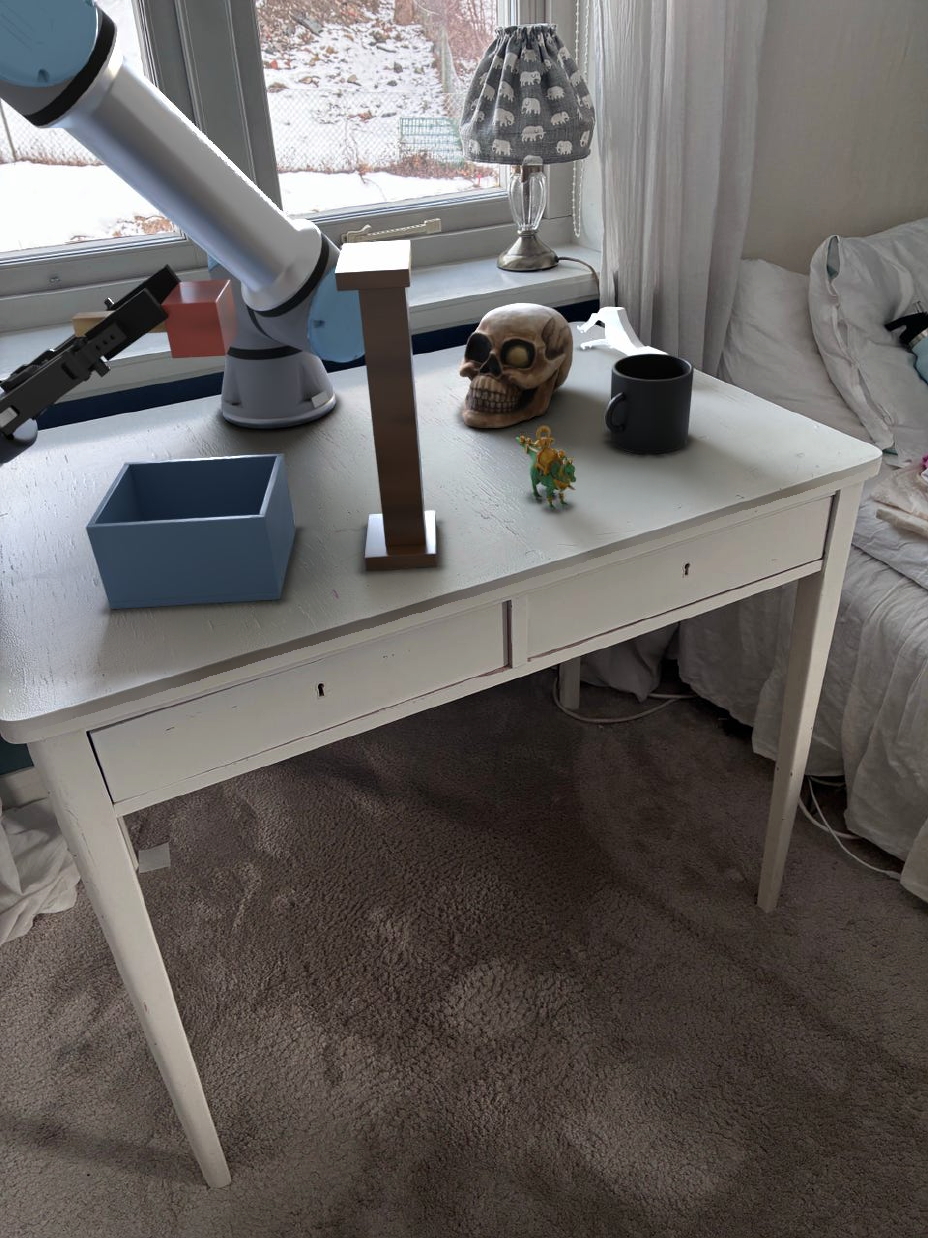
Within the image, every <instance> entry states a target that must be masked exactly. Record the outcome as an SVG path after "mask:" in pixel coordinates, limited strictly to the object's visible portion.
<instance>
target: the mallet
mask: <svg viewBox="0 0 928 1238" xmlns="http://www.w3.org/2000/svg"><path fill="white" fill-rule="evenodd" d="M161 307H162V308H163V309H164V311H165V312H166V313H167V314H168V315H169V317H168V318H167V319H166V320H164V321H163V322H162V323H160V324H159V325H158V326H156V327H155V328H153V329H152V330H151V331H149V332H148V333H147V334H161V333H164V334H165V333H166V334H167V340H168V345H169V348H170V353H171V357H172V359H189V358H190V359H191V358H192V359H193V358H207V357H208V358H209V357H210V358H211V357H226V354H227V352H228V350H229V348H230V346H231V344H232V342H233V340H234V338H235V337H236V335H237V333H238V331H239V328H238V322H237V316H236V311H235V305H234V299H233V294H232V288H231V282H230V280H211V279H210V280H196V281H181V282H179V283H178V284H177V286H176V287H175V288H174V289H173V291H172V292H171V293H170V294H169V296H168V297H167V298H166V299H165V301H164V302H163V303H162V304H161ZM113 312H114V311H105V310H103V311H88V312H87V311H86V312H77V313H75V314H74V315H73V317H71V319H70V320H71V324H72V328H73V332H74V333H75V335H76V337H86V336H85V335H84V334H85V333H86V332H87V331H88V330H90V329H91V328H92V327H94V326H95V325H96V324H98V323H99V322H100V321H102V320H103V319H104V318H106V317H107V316H109V315H110V314H111V313H113Z"/></svg>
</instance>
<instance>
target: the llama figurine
mask: <svg viewBox="0 0 928 1238" xmlns="http://www.w3.org/2000/svg"><path fill="white" fill-rule="evenodd" d="M598 321H601V322H602V323H604V334H605V338H603V339H596V340H591V341H588V342H583V343H581V344H580V345H579V346H580V347H581V349H582V350H585V349H586V347H589V348H590V349H592V347H593V346H606V347H608V348H609V349H611V350H613V349H616V350H618V351H619V352H621V353H623V354H625V355H627V356H631V355H637V354H667V355H669V354H668V353H667V352H665V351H662V350H659V349H657V348H655V347H651V346H649V345H647V346H645V345H644V344H643V342H641V341H640V340H639V337H638V336H637V334H636V332H635V330H634V328H633V327H632V325H631V323H630V321H629V318H628V314H627V310H626V308H625V307H615V306H605V307H603V308H600V309H599V310H598V311H597V313H591V315H590V318H589V319H588V320H587V321H586V322H585V323H583V324H582V325H581V326H580V325H579V324H578V325H577V327H576V329H577V330H578V332H579V333H580V334H584V333H588V329H590V328H591V327H592V326H594V325H595V324H596V323H597V322H598Z"/></svg>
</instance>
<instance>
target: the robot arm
mask: <svg viewBox="0 0 928 1238" xmlns="http://www.w3.org/2000/svg"><path fill="white" fill-rule="evenodd" d="M0 99H1V100H2V101H4V103H6V104H7V105H8V106H9V107H10V108H11V109H13V110H14V111H15V112H17V113H18V114H19V115H20V116H22V117H23V118H24V119H25V120H27V122H29V123H30V124H31V125H32V126H33V127H34V128H37V129H40V130H42V129H63V130H64V131H65V132H67V134H69V135H70V136H71V137H72V138H74V140H75V141H77V142H78V143H79V144H80V145H82V146H83V147H84V148H85V149H86V150H87V151H88V152H90V154H92V155H93V156H95V157H96V158H97V159H98V160H99V161H100V162H102V164H104V165H105V166H106V167H107V168H108V169H109V170H110V171H112V172H113V173H114V174H115V175H116V176H118V178H120V179H121V180H122V181H123V182H124V183H125V184H127V185H128V186H129V187H130V188H131V189H132V190H134V191H135V192H136V193H137V194H138V195H140V196H141V197H142V198H143V199H144V200H146V202H148V203H149V204H150V205H151V206H153V207H154V208H155V209H156V210H157V211H158V212H159V213H161V214H162V215H163V216H164V217H165V218H166V219H168V221H170V222H171V223H172V224H173V225H174V226H176V227H177V228H178V229H179V230H180V231H181V232H183V233H184V234H185V235H186V236H187V237H189V238H190V239H191V241H193V242H194V243H196V244H197V245H198V246H199V247H200V248H201V249H202V250H204V251H205V252H206V257H207V272H208V274H209V276H210V277H209V278H210V281H211V280H230V282H231V288H232V294H233V299H234V305H235V311H236V316H237V322H238V328H239V331H238V333H237V335H236V337H235V338H234V340H233V342H232V344H231V346H230V348H229V350H228V352H227V354H226V355H225V365H224V373H223V378H222V379H223V380H222V385H221V395H220V403H221V404H220V406H221V410H222V417H224V419H225V420H226V421H227V422H229V423H231V424H233V425H235V426H239V427H242V428H248V429H259V430H260V429H261V430H262V429H264V430H265V429H267V430H268V429H269V430H270V429H280V428H288V427H293V426H298V425H303V424H306V423H309V422H312V421H315V420H317V419H319V418H321V417H323V416H325V415H326V414H328V413H329V412H330V411H331V410H333V409H334V407H335V405H336V395H335V389H334V385H333V383H332V380H331V378H330V376H329V374H328V372H327V370H326V368H325V366H324V364H323V362H322V360H323V361H327V362H329V361H330V362H331V361H332V362H336V363H349V362H351V361H354V360H357V359H360V358H361V357H363V356H365V351H364V342H363V332H362V323H361V314H360V304H359V295H358V290H354V291H337V287H336V278H335V272H336V268H337V265H338V262H339V258H340V255H341V251H342V250H341V249H339V248H338V246H337V245H336V244H334V242H332V241H331V239H330V238H329V237H327V235H326V234H324V232H322V230H321V229H319V228H318V226H317V225H315V224H314V223H313V222H312V221H310V220H307V219H295V220H291V219H290V218H289V217H287V215H286V214H285V213H284V212H283V211H282V210H280V209H279V207H277V205H276V204H275V203H274V202H272V200H271V199H270V198H268V196H266V194H265V193H264V192H263V191H261V189H259V188H258V186H257V185H255V184H254V182H253V181H251V180H250V178H249V177H247V176H246V175H245V174H244V173H243V172H242V171H241V170H240V169H239V168H238V167H237V166H236V165H235V164H234V163H233V162H232V161H231V160H230V159H229V158H228V157H227V156H226V155H225V154H224V153H223V152H222V151H221V149H219V148H218V147H217V146H216V145H215V144H214V143H213V142H212V141H211V140H210V139H208V137H207V136H206V135H205V134H204V133H203V132H202V131H201V130H199V128H198V127H197V126H195V124H194V123H192V121H191V120H189V118H188V117H186V115H185V114H183V113H182V111H180V109H178V107H177V106H176V105H174V103H173V102H172V101H170V100H169V98H167V97H166V95H164V93H162V92H161V91H160V90H159V89H158V88H157V87H156V86H155V84H153V83H152V82H151V81H150V80H149V79H148V78H147V77H146V76H145V75H144V74H143V73H142V72H141V71H140V70H139V69H138V68H137V67H136V66H135V65H134V64H133V63H132V62H131V61H130V60H129V59H128V58H127V57H126V56H125V55H124V54H123V53H122V52H121V49H120V40H119V31H118V26H117V24H116V22H115V21H114V20H113V19H112V18H111V17H110V16H109V15H108V14H107V12H105V11H104V10H103V9H102V8H101V7H100V6H99V5H98V4H97V3H96V2H95V0H0ZM179 282H182V280H181V279H180V278H179V276H178V275H177V274H176V273H175V271H174V270H173V269H172V268H171V267H170V265H169V264H168V263H166V264H165V265H164V266H162V267H161V268H160V269H158V270H157V271H156V272H154V273H153V274H151V275H150V276H149V277H147V278H146V279H145V280H143V281H142V282H141V283H140V284H138V285H137V286H135V287H134V288H133V289H131V290H130V291H129V292H127V293H126V294H125V295H124V296H122V297H120V298H119V299H118V300H116V301H115V302H113V301H112V299H111V298H110V297H107V298H106V299H104V300H103V303H104V305H105V306H106V308H105V310H104V311H114V312H113V313H111V314H110V315H109V316H107V317H106V318H104V319H103V320H102V321H100V322H99V323H98V324H96V325H95V326H94V327H92V328H91V329H90V330H88V331H87V332H86V333H85V334H84V335H85V336H86V337H76V335H75V332H74V333H73V334H72V335H70V336H69V337H68V338H66V339H65V340H63V341H62V342H61V343H59V344H58V345H57V346H55V348H47V349H45V350H44V351H42V352H41V353H40V354H39V355H38V356H36V357H35V358H34V359H32V360H31V361H30V362H29V363H23V364H21V365H20V366H18V367H17V368H16V369H14V371H12V372H11V373H10V374H9V377H7V378H6V379H5V380H3V381H2V380H0V468H2V467H3V466H4V465H5V464H8V463H10V462H11V461H13V460H14V459H15V458H17V457H18V456H20V455H21V454H23V453H24V452H25V451H28V449H30V448H31V447H33V446H34V444H35V443H36V442H37V439H38V435H39V429H38V428H39V427H38V423H37V420H38V419H39V418H40V417H41V416H42V415H43V414H44V413H45V412H46V411H47V410H48V408H50V407H52V406H53V405H54V404H56V402H57V401H58V400H60V399H61V398H62V397H63V396H65V395H66V394H67V393H70V391H72V390H73V389H75V388H76V387H78V386H79V385H80V384H82V383H83V382H88V380H90V379H91V376H92V375H93V372H96V373H97V374H98V376H99V377H100V378H104V376H106V375H107V374H108V373H109V372H110V371H111V367H110V366H109V365H108V364H107V363H106V362H109V361H111V360H112V359H114V358H115V357H116V356H118V355H119V354H120V353H122V352H123V351H124V350H126V349H127V348H128V347H130V346H132V345H133V344H135V343H136V342H137V341H138V340H140V339H141V338H143V337H144V336H145V335H147V334H149V333H148V332H149V331H151V330H152V329H153V328H155V327H156V326H158V325H159V324H160V323H162V322H163V321H164V320H166V319H167V318H168V317H169V315H168V314H167V313H166V312H165V311H164V309H163V308H162V307H161V304H162V303H163V302H164V301H165V299H166V298H167V297H168V296H169V294H170V293H171V292H172V291H173V289H174V288H175V287H176V286H177V284H178V283H179ZM103 358H104V359H105V360H106V362H105V361H104V360H103Z"/></svg>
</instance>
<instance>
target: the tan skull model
mask: <svg viewBox="0 0 928 1238" xmlns="http://www.w3.org/2000/svg"><path fill="white" fill-rule="evenodd" d="M573 337H574V336H573V333H572V329H571V326H570V324H569V322H568V321H567V319H565V317H564V316H563V315H562V314H561V313H560V312H558V310H556V309H554V308H552V307H549V306H545V305H541V304H537V303H528V302H517V303H512V304H511V303H510V304H507V305H503V306H499V307H497V308H494V309H492V310H490V311H489V312H487V313H486V314H485V315H484V316H483V317H482V319H481V321H480V323H479V325H478V327H476V330H475V331H474V332H472V333H471V335H470V336H469V337H468V339H467V342H466V344H465V348H464V355H463V358H462V360H461V363H460V367H459V370H458V373H459V376H460V377H461V378H467V379H468V380H470V384H469V388H468V391H467V393H466V395H465V397H464V401H463V405H462V411H461V412H460V413H461V418H462V420H463V422H464V423H465V425H467V426H468V427H474V428H477V429H501V428H507V427H510V426H513V425H517V424H518V423H520V422H522V421H529V420H531V419H532V418H534V417H540V416H543V415H544V414H545V413H546V412H547V409H548V408H549V405H550V401H551V397H552V395H553V394H555V393H556V391H557V390H558V389H559V388H560V387H562V386H563V385H564V383H565V382H566V380H567V378H568V377H569V373H570V370H571V368H572V365H573V357H574V355H573V354H574V338H573Z"/></svg>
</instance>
